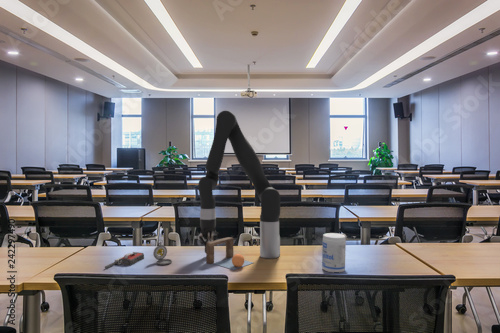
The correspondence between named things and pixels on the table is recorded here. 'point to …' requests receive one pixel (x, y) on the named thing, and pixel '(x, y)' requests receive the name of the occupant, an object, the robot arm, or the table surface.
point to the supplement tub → (333, 252)
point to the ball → (238, 260)
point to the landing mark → (229, 265)
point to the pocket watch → (159, 251)
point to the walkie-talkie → (128, 259)
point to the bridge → (211, 244)
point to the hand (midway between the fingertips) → (208, 253)
